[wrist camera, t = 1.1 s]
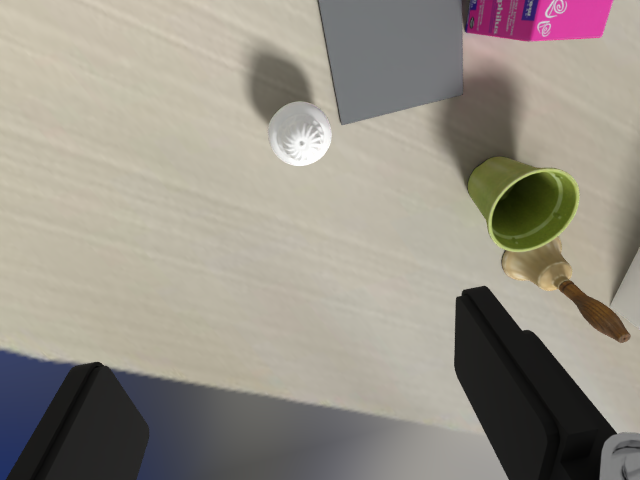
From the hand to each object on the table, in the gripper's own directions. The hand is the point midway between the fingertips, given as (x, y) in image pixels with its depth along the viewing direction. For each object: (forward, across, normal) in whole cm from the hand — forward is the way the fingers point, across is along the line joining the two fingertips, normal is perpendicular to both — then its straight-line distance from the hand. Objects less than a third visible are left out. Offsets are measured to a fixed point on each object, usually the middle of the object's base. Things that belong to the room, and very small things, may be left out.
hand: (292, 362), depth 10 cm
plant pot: (+34, -23, +13) cm, 43 cm away
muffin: (+33, -1, +2) cm, 33 cm away
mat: (+33, -12, -6) cm, 36 cm away
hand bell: (+34, -30, +26) cm, 52 cm away
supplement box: (+33, -22, -6) cm, 40 cm away
